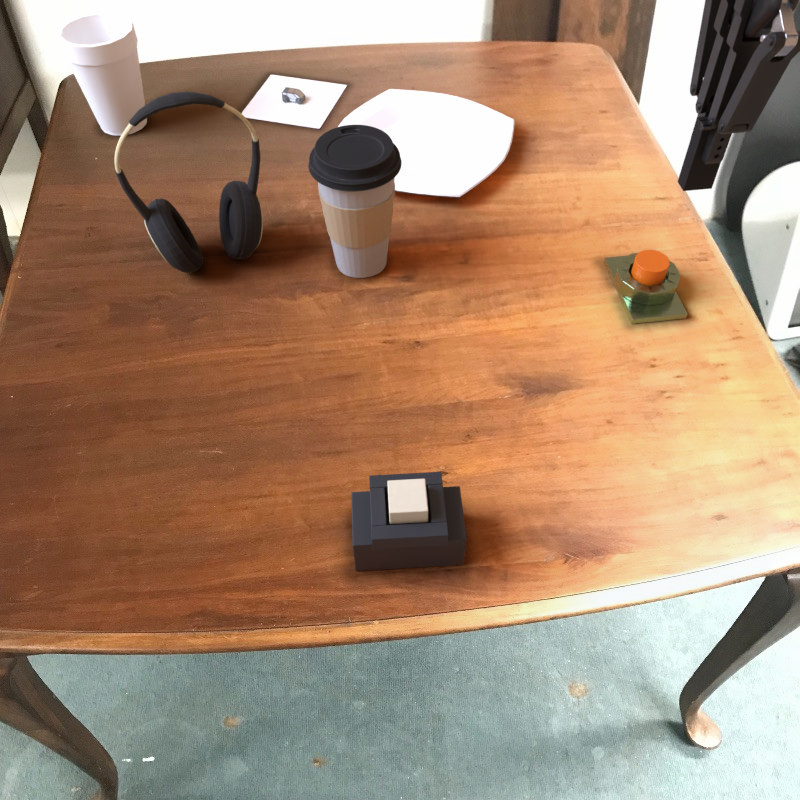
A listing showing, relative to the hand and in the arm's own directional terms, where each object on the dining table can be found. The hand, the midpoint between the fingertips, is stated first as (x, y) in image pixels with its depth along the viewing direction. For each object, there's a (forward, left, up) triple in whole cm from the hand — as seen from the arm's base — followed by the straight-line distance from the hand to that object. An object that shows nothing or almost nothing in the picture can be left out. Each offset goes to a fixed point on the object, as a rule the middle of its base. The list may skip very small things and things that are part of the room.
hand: (694, 184), depth 71 cm
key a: (0, +39, -10) cm, 40 cm away
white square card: (+60, -2, -16) cm, 62 cm away
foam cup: (+73, +18, -16) cm, 77 cm away
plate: (+38, -5, -16) cm, 42 cm away
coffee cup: (+28, +16, -16) cm, 36 cm away
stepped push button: (0, +39, -16) cm, 42 cm away
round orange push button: (+2, -2, -14) cm, 14 cm away
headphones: (+41, +27, -16) cm, 52 cm away
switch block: (+2, -2, -16) cm, 16 cm away
